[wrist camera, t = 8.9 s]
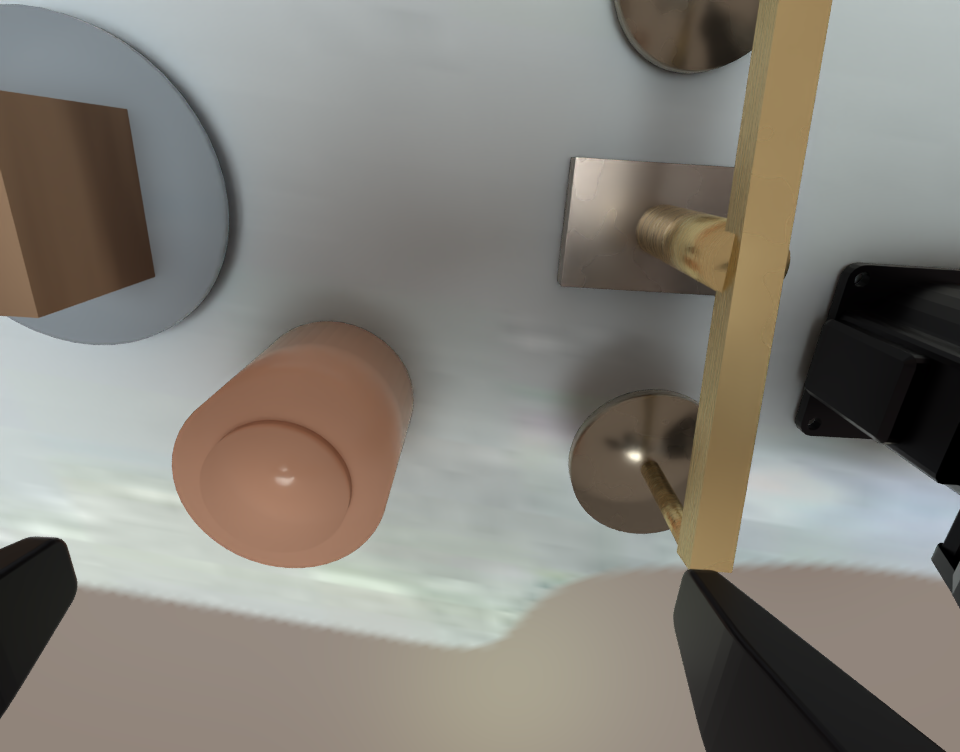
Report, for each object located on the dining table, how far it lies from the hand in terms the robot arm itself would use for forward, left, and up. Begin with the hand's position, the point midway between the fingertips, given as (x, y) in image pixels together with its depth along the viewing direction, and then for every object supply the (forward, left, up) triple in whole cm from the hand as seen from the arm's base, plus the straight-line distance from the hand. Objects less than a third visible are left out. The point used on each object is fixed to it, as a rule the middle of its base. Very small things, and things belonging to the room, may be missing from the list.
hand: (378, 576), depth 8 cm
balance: (-7, -4, -12) cm, 15 cm away
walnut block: (+12, -4, -11) cm, 17 cm away
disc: (+12, -4, -12) cm, 18 cm away
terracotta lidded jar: (+4, +3, -13) cm, 14 cm away
